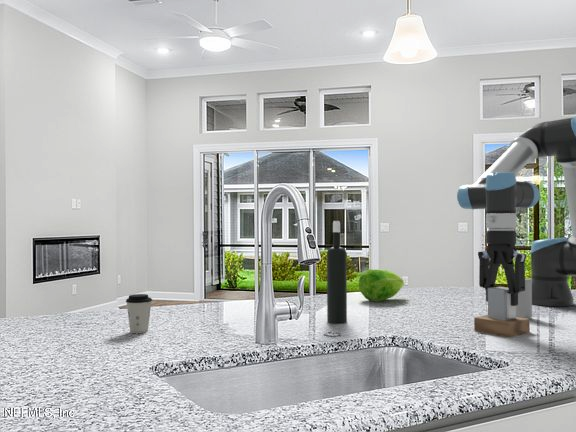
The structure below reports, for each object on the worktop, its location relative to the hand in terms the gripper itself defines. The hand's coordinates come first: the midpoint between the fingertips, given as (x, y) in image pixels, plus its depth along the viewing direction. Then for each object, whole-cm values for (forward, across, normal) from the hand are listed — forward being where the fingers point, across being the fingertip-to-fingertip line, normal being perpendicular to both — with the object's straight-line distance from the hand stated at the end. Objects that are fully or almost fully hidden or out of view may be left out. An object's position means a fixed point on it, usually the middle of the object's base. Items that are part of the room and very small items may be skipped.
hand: (501, 315), depth 139 cm
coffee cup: (+4, -51, -84) cm, 98 cm away
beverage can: (+4, -9, +22) cm, 24 cm away
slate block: (+1, 0, 0) cm, 1 cm away
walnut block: (+5, 0, 0) cm, 5 cm away
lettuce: (+4, -58, +9) cm, 59 cm away
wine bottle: (+4, -34, -30) cm, 46 cm away
